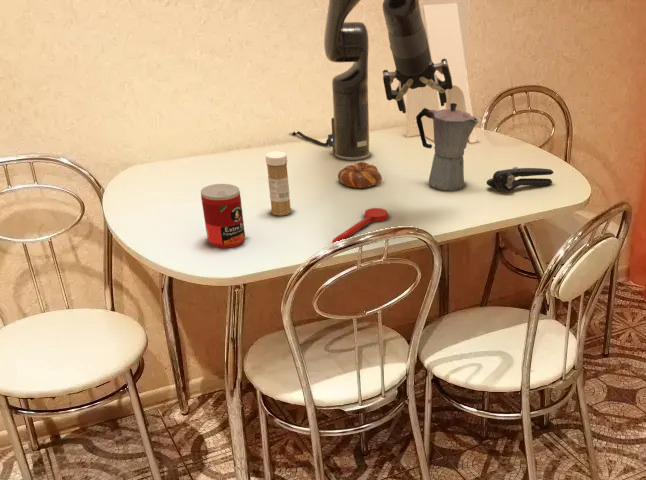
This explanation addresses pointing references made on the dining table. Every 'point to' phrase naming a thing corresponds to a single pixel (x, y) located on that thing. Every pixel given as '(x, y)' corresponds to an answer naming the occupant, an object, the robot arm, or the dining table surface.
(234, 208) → the canned food
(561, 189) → the dining table surface
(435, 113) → the moka pot
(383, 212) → the red spoon
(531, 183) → the can opener
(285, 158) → the sprinkles bottle
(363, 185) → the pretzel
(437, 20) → the cream upright block
